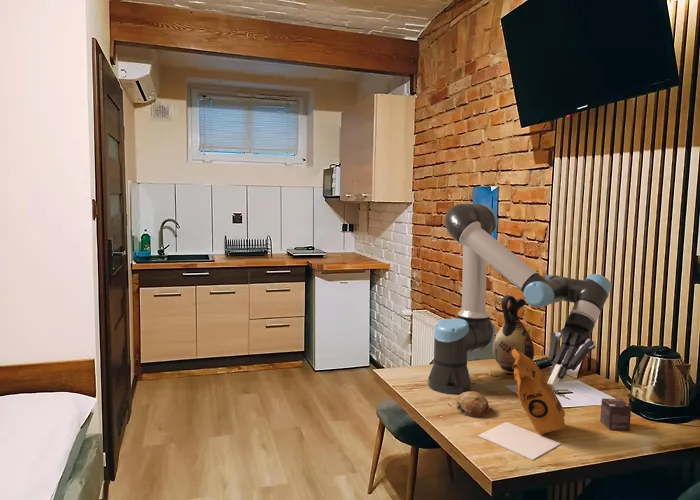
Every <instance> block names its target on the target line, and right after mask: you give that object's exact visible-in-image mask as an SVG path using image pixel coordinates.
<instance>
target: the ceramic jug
mask: <svg viewBox="0 0 700 500" xmlns="http://www.w3.org/2000/svg"><path fill="white" fill-rule="evenodd" d="M508 302H509V306H508ZM526 304H527V302H526V300H524V299H523V298H521V297H520V298H518V299H516V297H514V296H512V295H504V296H503V298H502V299H501V310H502V314H503V319H504V323H503V324H502V325H501V327H500V329H499V330H498V331H497V333H496V334H495V337H494V339H493V342H492V355H493V358H494V360H495V362H496V363H497V364H498V365H499V367H500V371H501V372H503V373H504V374H505V373H507V374H513V375H514V369H512V367H513V364H514V363H515V360H516V359H515V358H514V357H513V356H512V353H511V352H512V350H513V349H516V350H518V351H519V352H521V353H522V354H524V355H525V356H527V357H529V358H530V359H532V360H533V361H534V357H535V347H534V343H533V341H532V337H531V335H530V333H529V331H528V330H527V329H526V327H525V325H524V324H523V323H522V321H521V319H520V317H519V315H518V312H519V310H520V309H521V308H523V307H524V306H526Z"/></svg>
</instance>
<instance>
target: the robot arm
mask: <svg viewBox="0 0 700 500" xmlns="http://www.w3.org/2000/svg"><path fill="white" fill-rule="evenodd" d="M498 223H499V219H498V216H497V213H496V211H495V210H494V209H493V208H492V207H491V206H490V205H488V204H484V203H458V204H454V205H453V206H451V207H450V208H449V209H448V211H447V212H446V214H445V217H444V227H445V229H446V231H447V233H448V235H450V236H451V237H452V238H453V239H454V240H455V241H456V242H457V243H459V244H460V245H461V246H462V278H461V280H462V284H461V286H462V287H461V309H460V310H459V311H458V312H457V317H456V318H455V317H451V318H444V319H441V320H439V321H438V322H437V323H436V324H435V327H434V332H433V333H434V334H433V336H434V341H433V342H434V345H433V364H432V368H431V370H430V373H429V376H428V380H427V382H428V383H427V385H428V387H429V388H430V389H432V390H434V391H436V392H440V393H444V394H455V395H456V394H459V395H460V394H462V393H463V392H470V391H471V390H472V380H471V376H470V373H469V369H468V354H470V353H473V352H476V351H479V350H480V351H481V350H483V349H485V348H487V347H488V346H489V345H491V344H493V342H494V339H495V337H496V329H495V325H494V324H493V322H492V320H491V318H490V317H491V315H490V313H489V312H488V311H487V310H486V309H487V308H486V306H487V305H486V304H487V298H486V297H487V267H488V266H487V265H489V266H491V268H492V267H493V269H495V270H496V271H497V272H498V273H499V274H501V275H502V276H503V277H504V278H505V279H506V280H508V281H509V282H510V283H511V284H513V286H515V287H516V288H517V289H518V290H520V291H521V292H522V293H523V297H524V299H525V300H524V301H525V302H526V304H528V305H530V306H531V307H535V308H539V307H541V308H542V307H548V306H549V305H551V304H556V303H559V302H568V303H573V306H572V308H571V310H570V312H569V314H568V316H567V319H566V321H565V323H564V327H563V328H562V329H560V331H558V332H556V333H555V332H554V331H552V332H551V333H550V336H551V337H550V338H551V343H550V347H549V352H548V357H547V360H548V362H550V364H551V365H552V366H551V367H550V369H549V370H548V371H549V372H548V373H549V378H548V379H547V380H548V382H547V384H548V385H549V387H550V388H551V389H553V390H556V389H557V386H558V385H559V383H560V380H564V378H565V377H566V374H567V372H568V371H569V370H572V371H575V370H576V369H577V368H578V367H579V365H580V364H581V363H582V362H583V360H584V359H585V358H586V356H587V355H588V354H589V353H590V352H591V351H592V350H594V349H595V348H596V344H595V342H594V341H593V340H591V337H590V336H591V335H592V332H593V330H594V328H595V326H596V324H597V321H598V319H599V316H600V315H601V313H602V311H603V307H604V305H605V304H606V302H607V299H608V298H609V296H610V295H609V294H610V292H611V289H612V283H611V280H609V279H608V278H607V277H606V276H604V275H602V274H598V273H593V274H591V273H590V274H589V275H588V276H587V277H586V278H585V279H577V278H572V277H566V276H561V275H557V274H555V275H554V274H553V275H552V274H551V275H550V274H547V275H545V276H542V275H541V274H540V273H539V272H537V271H536V270H535V269H534V268H533V267H531V266H530V265H528V264H527V263H526V262H525V261H524V260H523V259H521V258H520V257H519V256H517V255H516V254H515V253H514V252H512V251H511V250H510V249H509V248H507V247H506V246H505V245H504V244H502V243H501V242H500V241H499V240H497V239H496V238H494V237H493V235H492V234H493V233H494V232H495V231H496V229H497V228H498ZM561 340H562V341H561ZM560 341H561V345H560V346H559V343H560Z"/></svg>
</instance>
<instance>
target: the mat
mask: <svg viewBox="0 0 700 500" xmlns="http://www.w3.org/2000/svg"><path fill="white" fill-rule="evenodd" d="M477 437H479V438H481V439H484V440H486V441H488V442H490V443H492V444H494V445H497V446H499V447H501V448H503V449H506V450H508V451H511V452H513V453H515V454H517V455H519V456H522V457H524V458H527V459H528V460H530V461H534V460H537V459H538V458H540V457H541V456H543V455H545V454H547V453H548V452H551V451H552V450H554V449H555V448H557V447H559V446H560V445H561V442H558V441H557V440H553V439H550V438H548V437H545V436H543V435H542V434H539V433H536V432H533V431H530V430H528V429H527V428H523V427H521V426H518V425H515V424H513V423H511V422H508V421H505V422H503V423H500V424H499V425H497V426H495V427H493V428H490V429H488V430H486V431H484V432H482V433H479V434H478V435H477Z"/></svg>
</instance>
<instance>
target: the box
mask: <svg viewBox="0 0 700 500" xmlns="http://www.w3.org/2000/svg"><path fill="white" fill-rule="evenodd" d="M600 407H601V409H600V419H599V420H600V423H601V424H602V425H604V426H605V427H606V428H607V429H608V430H610V431H630V430H631V429H630V428H631V419H632V418H631V417H632V416H631V415H632V406H631V405H630V404H629V403H628V402H626V401H625V400H623V399H622V398H601V406H600Z"/></svg>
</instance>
